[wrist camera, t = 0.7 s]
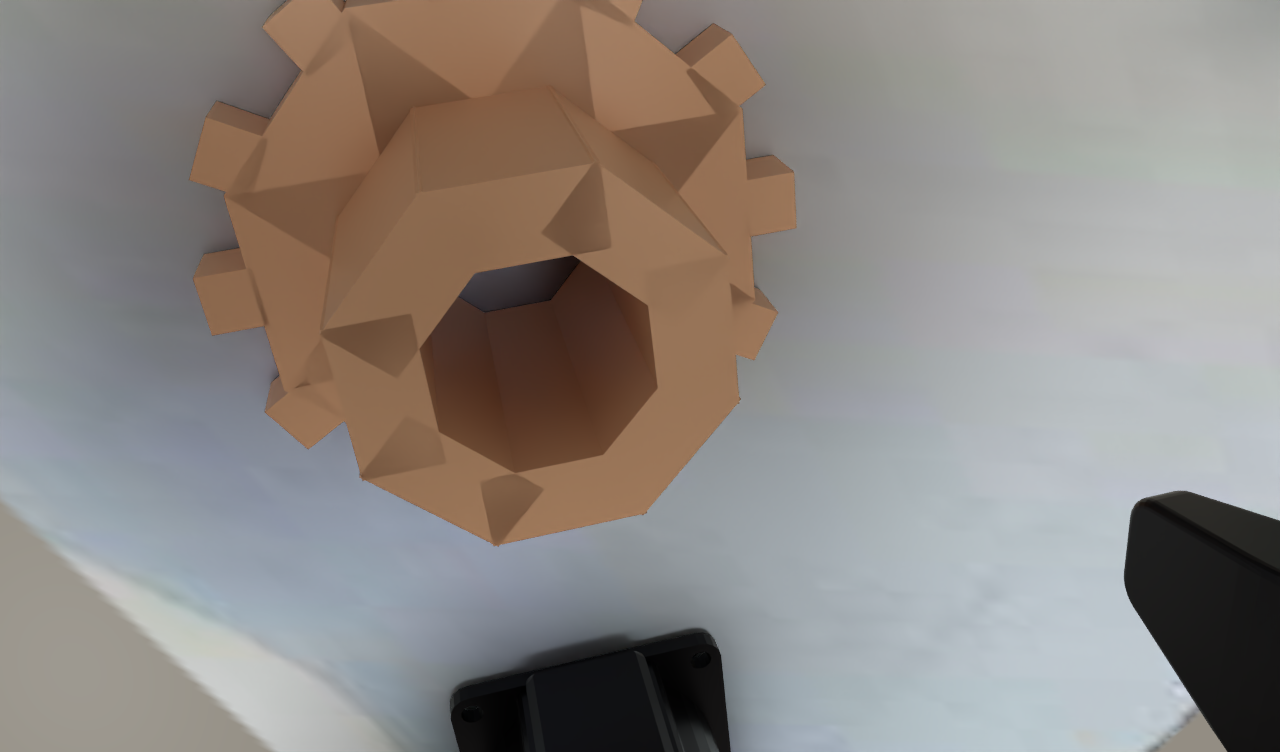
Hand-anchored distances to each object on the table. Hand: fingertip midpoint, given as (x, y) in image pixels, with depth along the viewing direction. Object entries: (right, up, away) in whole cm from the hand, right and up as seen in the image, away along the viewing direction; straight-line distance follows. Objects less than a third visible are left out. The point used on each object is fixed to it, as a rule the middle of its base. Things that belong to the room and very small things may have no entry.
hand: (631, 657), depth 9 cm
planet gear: (-2, +5, +11) cm, 13 cm away
